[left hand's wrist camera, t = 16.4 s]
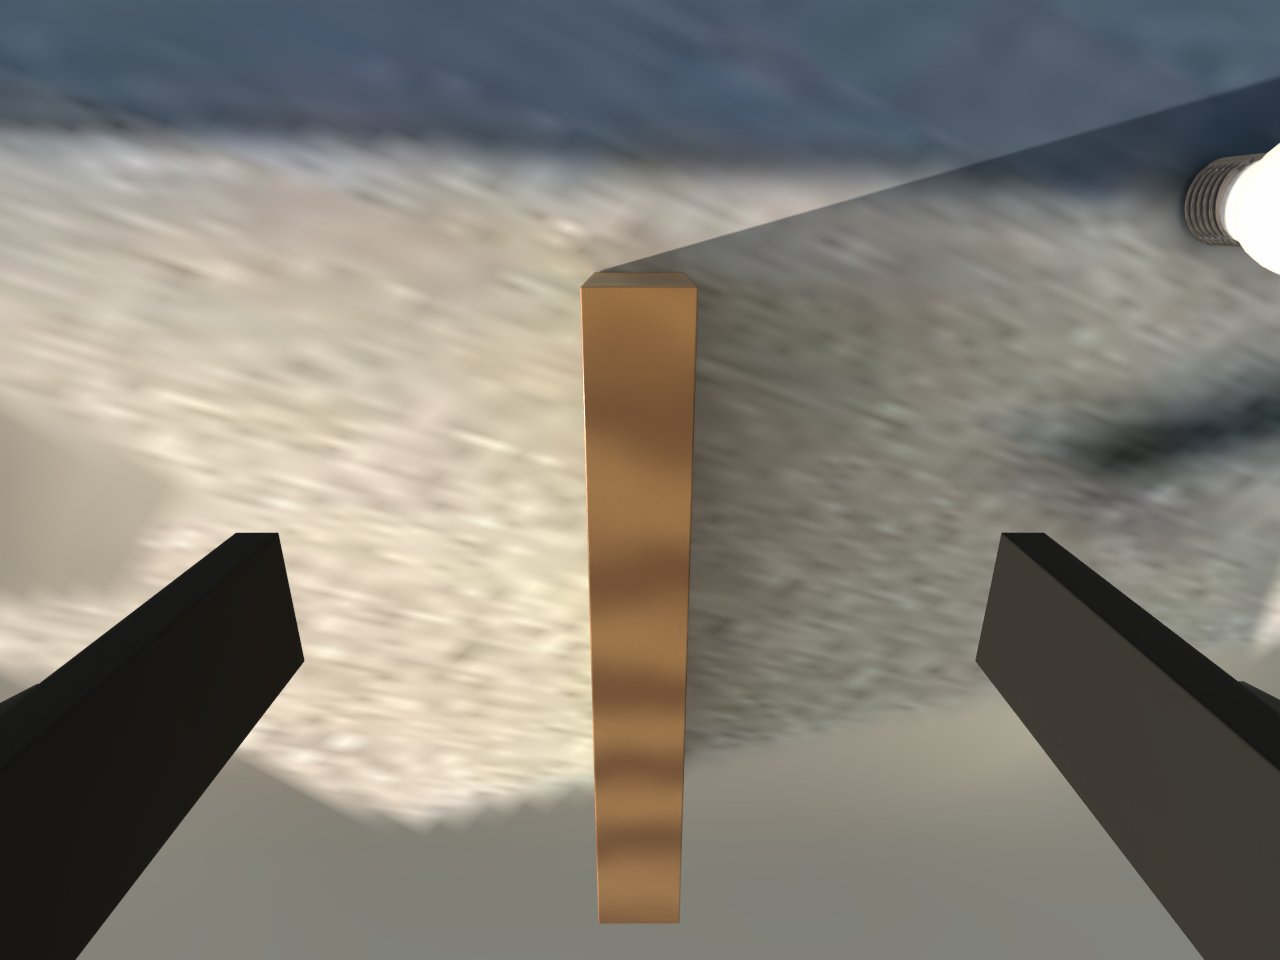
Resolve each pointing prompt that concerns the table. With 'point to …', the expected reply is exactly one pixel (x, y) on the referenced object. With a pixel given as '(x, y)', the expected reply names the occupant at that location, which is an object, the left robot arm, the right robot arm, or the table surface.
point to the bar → (639, 577)
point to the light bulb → (1239, 205)
